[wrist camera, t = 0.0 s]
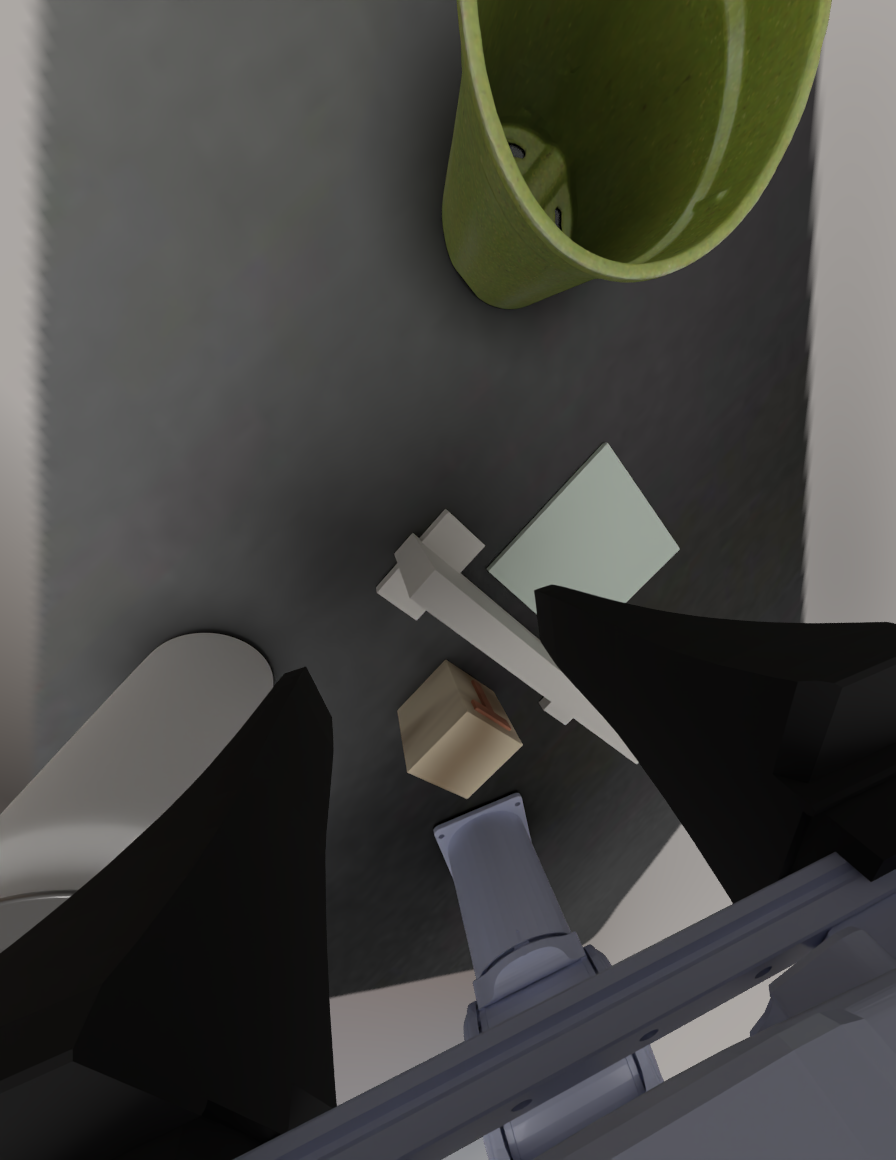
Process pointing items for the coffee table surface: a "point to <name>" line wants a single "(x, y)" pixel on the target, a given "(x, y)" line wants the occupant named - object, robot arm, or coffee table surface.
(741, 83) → the plant pot
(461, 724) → the maple cube
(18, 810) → the can
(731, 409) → the coffee table surface
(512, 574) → the sage mat
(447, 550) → the grey screen
